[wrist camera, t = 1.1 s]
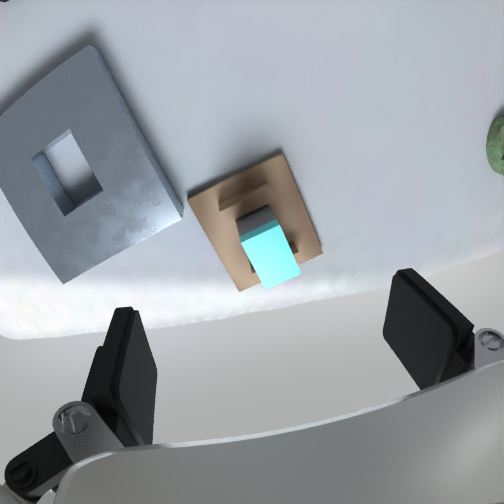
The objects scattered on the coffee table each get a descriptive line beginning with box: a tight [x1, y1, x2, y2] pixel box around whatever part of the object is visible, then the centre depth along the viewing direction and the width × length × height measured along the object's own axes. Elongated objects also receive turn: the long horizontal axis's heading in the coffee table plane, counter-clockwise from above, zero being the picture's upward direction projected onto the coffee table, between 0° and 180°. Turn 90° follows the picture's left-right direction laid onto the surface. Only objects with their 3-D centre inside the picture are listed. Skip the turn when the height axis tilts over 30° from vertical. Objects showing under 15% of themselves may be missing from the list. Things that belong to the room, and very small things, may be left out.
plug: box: [235, 204, 301, 290], centre depth 35 cm, size 4×6×8 cm, turn 24°
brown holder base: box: [187, 153, 323, 292], centre depth 38 cm, size 12×14×4 cm
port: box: [0, 45, 184, 284], centre depth 32 cm, size 18×22×4 cm
